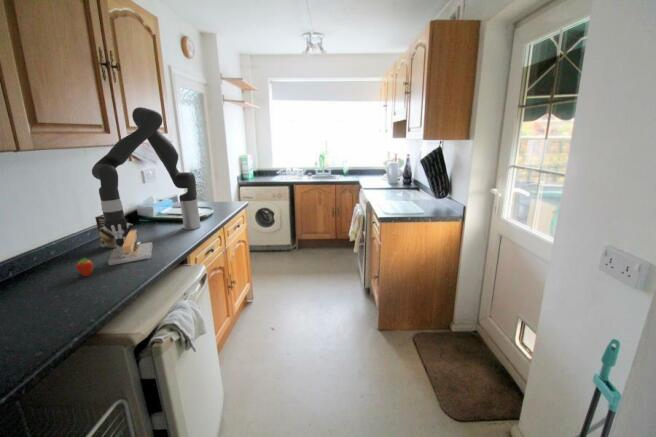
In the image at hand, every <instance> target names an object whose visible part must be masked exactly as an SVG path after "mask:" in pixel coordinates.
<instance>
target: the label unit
mask: <svg viewBox="0 0 656 437" xmlns="http://www.w3.org/2000/svg"><path fill="white" fill-rule="evenodd" d="M153 247H154V246H153V242H145V243H141V244H137V245H134V247H133V250H132V252H130V253H123V249H122V246H120V247H117V248H114V247H113V248H114V249H113V250H112V253H111V254H110V256H109V258H108V260H107V263H108V266H113V265H119V264H125V263H131V262H137V261H141V260H143V261H144V260H149V259H151V258H152V253H153V252H152V251H153Z"/></svg>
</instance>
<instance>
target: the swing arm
mask: <svg viewBox="0 0 656 437" xmlns="http://www.w3.org/2000/svg"><path fill="white" fill-rule="evenodd" d="M138 236H139V234H138V230H137V228H134V229H133V228H131V230H130V231H129V233H128V234H127V236H125V242H124V244H123V246H121V247H122V249H123V253H130V252H132V250H133V247H134V244H135V241H136V238H137V239H138Z"/></svg>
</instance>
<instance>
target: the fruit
mask: <svg viewBox="0 0 656 437" xmlns="http://www.w3.org/2000/svg"><path fill="white" fill-rule="evenodd" d="M79 260H80V261H76V262H77V263H76V269H77V271H78V272H79V273H80V274H81V275H82V276H84V277H89V276H90V275H91V274H92V272H93V269H94V263H93V262H92V260H90V258H87V257H82V258H79Z"/></svg>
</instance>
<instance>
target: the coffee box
mask: <svg viewBox="0 0 656 437" xmlns="http://www.w3.org/2000/svg"><path fill="white" fill-rule="evenodd" d="M94 218H95V222H96V226H97V231H98V235H99V239H100V244H101V247H102V248H117V247H119V245H118V246H117V244H116V240H115V239H113V238H112V239H111V238H109V237H108V236H106V235H105V234H103V233H102V232H100V229H101V228H103V227H104V224H105V220H104V215H103V214H100V215H97V216H95V217H94ZM106 229H107V228H106ZM107 231H108V232H109V233H111V234H112V235H114V234H113V232H112V231H110V230H109V229H107ZM124 232H125V231H124V229H123V230H122V234H123V233H124ZM117 234H118V237H119V231H117ZM125 239H126V236H125V237H123V240H124V242H125Z"/></svg>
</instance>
